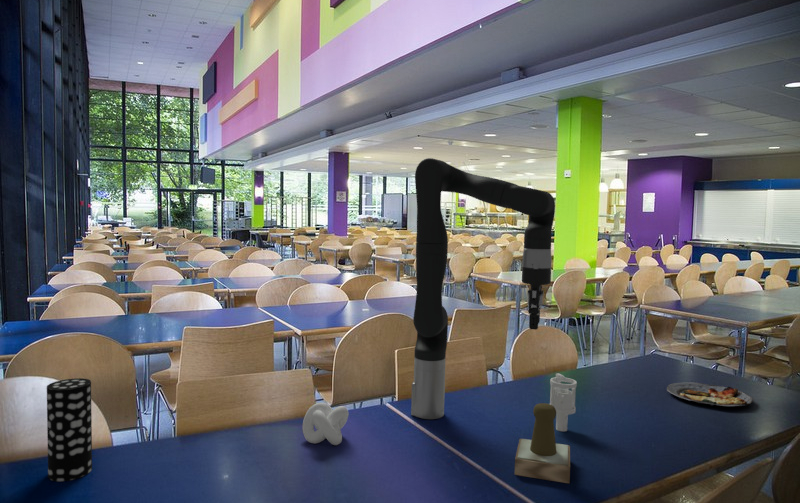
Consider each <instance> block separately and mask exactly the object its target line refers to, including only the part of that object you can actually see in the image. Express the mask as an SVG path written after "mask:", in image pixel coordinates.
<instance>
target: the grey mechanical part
mask: <svg viewBox="0 0 800 503" xmlns="http://www.w3.org/2000/svg"><path fill="white" fill-rule="evenodd" d="M549 380H550V382H549V384H550V394H549V398H550V399H549V404H550V405H552V406H554V408H555V409H556V417H555V430H556V431H558V432H567V431H568V421H569V419H568V417H569V415H573V414H576V393H577V392H576V389H577V384H578V383H577V382H578V381H577V380H575V379H573V378H569V377H565V376H564V375H563V374H561V373H558V372H557V373H555V376H554V377H551V378H550V379H549ZM562 382H565V383H562ZM570 389H571V390H570Z"/></svg>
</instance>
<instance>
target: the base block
mask: <svg viewBox="0 0 800 503" xmlns="http://www.w3.org/2000/svg"><path fill="white" fill-rule="evenodd" d="M531 441H532V439H527V438H519V440H518V444H517V449H516V452H515V457H514V458H515V459H514V475H515V476H520V477H527V478H533V479H539V480H545V481H552V482H558V483H565V484H570V480H571V479H570V478H571V446H570V445H568V444H562V443H556V454H555V455H553V456H541V455H537V454H535V453H533V452H532V451H531V450H530V447H531Z"/></svg>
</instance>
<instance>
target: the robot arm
mask: <svg viewBox="0 0 800 503" xmlns="http://www.w3.org/2000/svg"><path fill="white" fill-rule="evenodd" d="M414 181H415V184H414V185H415V194H416V196H415V197H416V241H415V273H416V274H415V276H416V293H415V294H416V295H415V296H416V297H415V304H414V311H413V319H412V320H413V327H414V328H415V330H416V332H417V333H416V342H415V346H414V356H413V357H414V362H413V366H414V367H413V369H414V370H413V382H412V383H411V397H410V398H411V402H410V403H411V408H410V414H411V416H414V417H416V418H418V419H419V418H420V419H424V420H437V419H438V420H439V419H441V418H443V417H444V415H445V395H446V393H445V390H446V354H447V348H448V346H447V345H448V332H449V331H448V328H449V327H448V326H449V317H448V316H449V315H448V312H447V310H446V308H445V307H444V306H443V299H442V298H443V294H442V292H443V283H444V279H445V274H446V269H447V264H448V252H449V250H448V248H449V246H448V245H449V244H448V243H449V238H448V236H449V235H448V232H447V231H448V230H447V228H446V224H445V221H444V217H443V213H442V208H441V207H442V206H441V202H442V192H446V193H454V194H455V193H457V194H461V195H465V196H469V197H470V198H474V199H477V200H478V201H481V202H484V203H486V204H490V205H493V206H496V207H501V208H504V209H509V210H513V211H514V212H518V213H521V214H524V215H527V216H528V223H527V227H526V228H525V230H524V234H523V235H524V236H523V252H522V260H521V283H522V284H526V285H530V289H528V290H527V307H528V309H527V311H528V314H529V319H528V320H529V322H528V323H529V324H528V328H529V329H530V330H535V331H536V330H538V328H539V324H540V320H541V319H540V318H541V309H542V305H543V299H544V290H543V286H547V285H550V284H551V283H552V281H551V280H552V259H553V258H552V229H553V225H554V218H555V212H556V202H555V199H554V196H553V195H552V194H551V193H549V191H546V190H541V189H535V188H532V187H527V186H521V185H518V184H517V183H514V182H510V181H506V180H502V179H498V178H494V177H489V176H483V175H477V174H473V173H470V172H467V171H464V170H461V169H459V168H457V167H455V166H453V165H450V164H449V163H447V162H445V161H443V160H440V159H436V158H432V157H430V158H429V157H428V158H427V157H426V158H423V160H421V161H419V163H418V164H417V166H416V169H415V173H414Z"/></svg>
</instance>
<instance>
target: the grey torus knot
mask: <svg viewBox="0 0 800 503" xmlns="http://www.w3.org/2000/svg"><path fill="white" fill-rule="evenodd" d="M349 413H350V412H349V410H348V408H347V407H346V406H341V405H340V406H337V407H335V408H334V409H333V408H332V407H331V406H330V405H329V404H328V403H327V402H326V403H325V402H317V403H314V404H313V405H311V406H310V407H309V408H308V409H307V411H306V413H305V415H304V417H303V421H302V433H303V436H304V438H305V440H306V442H308V443H311V444H315V445H316V444H319V443H321V442H323V441H324V440H325V439H327V441H328V442H329V443H330V444H331V445H333V446H339V445H340V444H341V443H342V441H343V435H342V431H341V430H342V428H343V427H344V426H345V425H346V423H347V421H348V419H349V415H350V414H349Z"/></svg>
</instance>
